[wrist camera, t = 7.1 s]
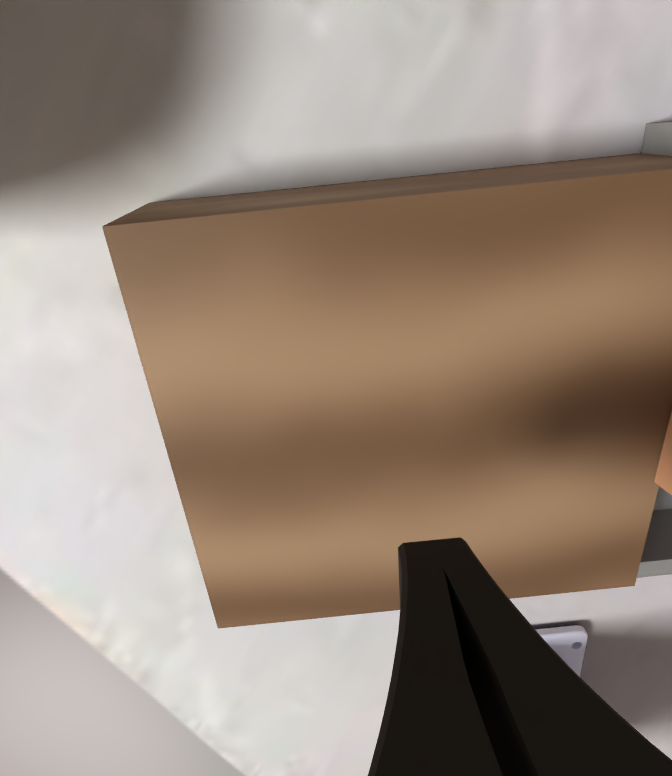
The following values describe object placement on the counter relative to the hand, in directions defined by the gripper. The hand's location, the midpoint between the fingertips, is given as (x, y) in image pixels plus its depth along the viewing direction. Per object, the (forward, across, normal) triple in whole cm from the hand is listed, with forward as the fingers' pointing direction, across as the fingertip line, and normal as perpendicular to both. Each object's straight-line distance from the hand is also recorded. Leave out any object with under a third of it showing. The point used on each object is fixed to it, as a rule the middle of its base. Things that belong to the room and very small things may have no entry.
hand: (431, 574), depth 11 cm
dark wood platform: (+9, -1, 0) cm, 9 cm away
